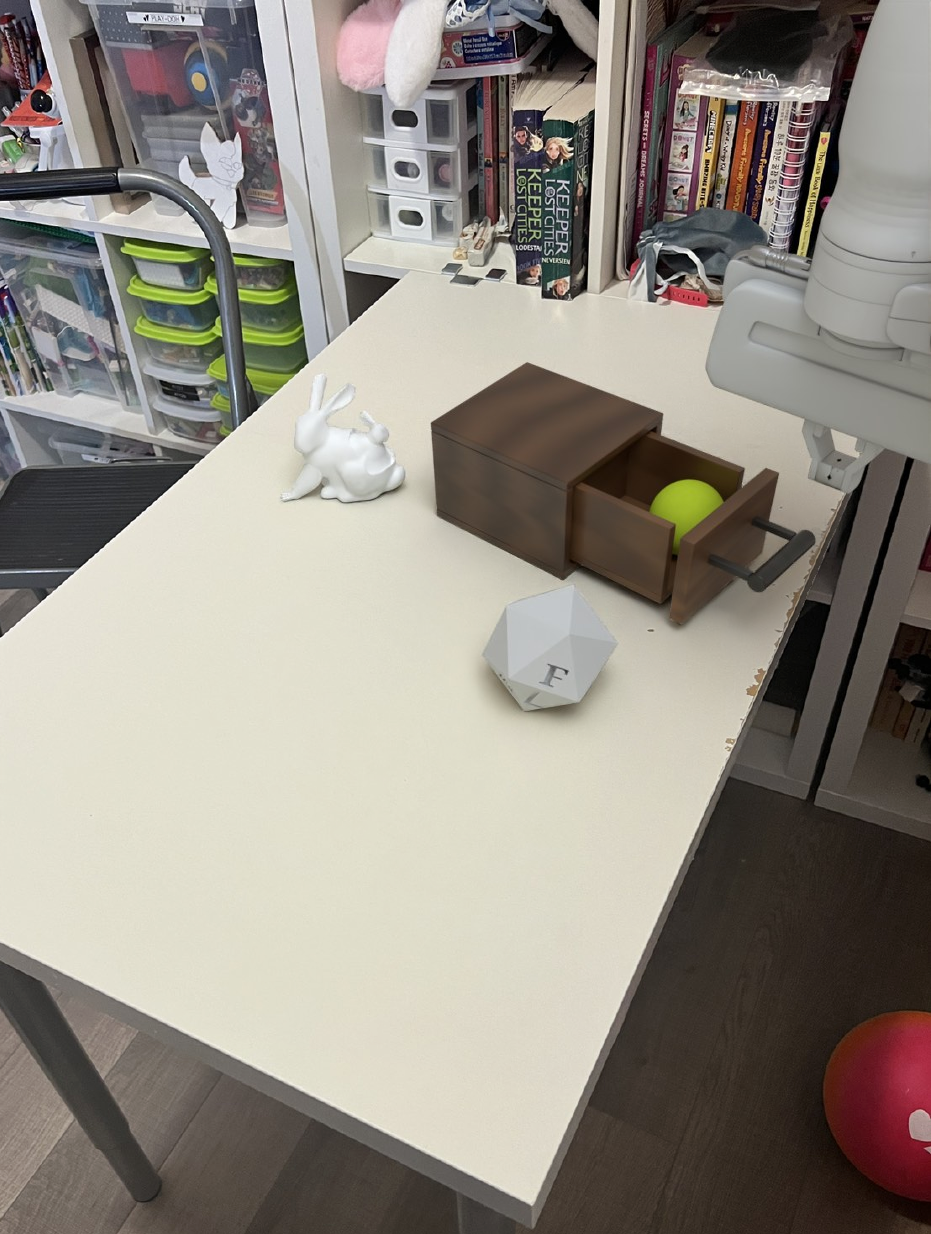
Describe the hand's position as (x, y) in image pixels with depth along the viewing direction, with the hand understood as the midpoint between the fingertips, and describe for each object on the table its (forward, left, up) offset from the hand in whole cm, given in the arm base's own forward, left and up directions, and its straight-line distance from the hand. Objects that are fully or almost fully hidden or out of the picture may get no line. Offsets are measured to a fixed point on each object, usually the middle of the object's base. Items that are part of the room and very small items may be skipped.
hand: (832, 482), depth 70 cm
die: (+18, +8, -14) cm, 24 cm away
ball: (+8, -7, -9) cm, 14 cm away
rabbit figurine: (+39, -18, -14) cm, 45 cm away
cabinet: (+20, -14, -14) cm, 28 cm away
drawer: (+9, -6, -13) cm, 17 cm away
